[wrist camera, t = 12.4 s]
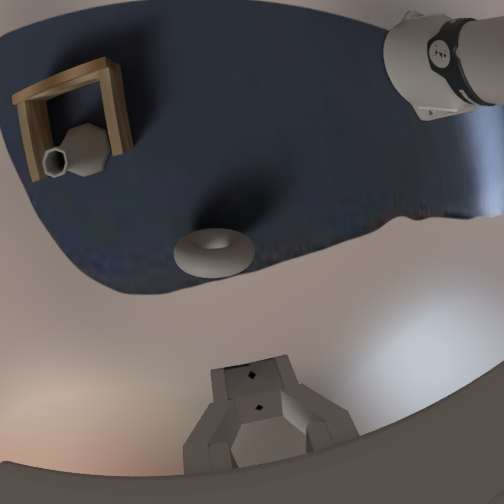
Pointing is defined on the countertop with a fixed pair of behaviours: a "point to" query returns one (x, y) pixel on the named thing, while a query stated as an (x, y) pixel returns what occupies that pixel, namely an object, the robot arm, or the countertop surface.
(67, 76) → the wooden arch bench
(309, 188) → the countertop surface
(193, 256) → the donut
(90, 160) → the flask
